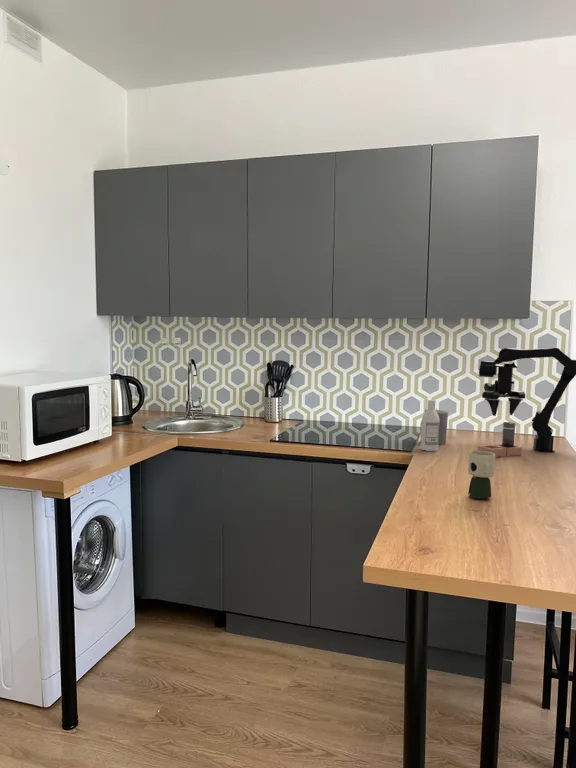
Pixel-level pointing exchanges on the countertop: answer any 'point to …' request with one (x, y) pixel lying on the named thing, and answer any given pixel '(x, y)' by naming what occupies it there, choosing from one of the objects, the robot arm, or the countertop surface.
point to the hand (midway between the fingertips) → (502, 415)
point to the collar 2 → (512, 450)
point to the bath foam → (430, 428)
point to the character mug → (481, 473)
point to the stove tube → (508, 434)
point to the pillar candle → (442, 425)
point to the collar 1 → (493, 449)
